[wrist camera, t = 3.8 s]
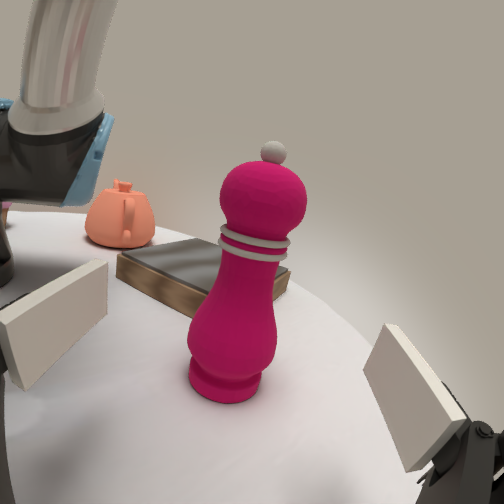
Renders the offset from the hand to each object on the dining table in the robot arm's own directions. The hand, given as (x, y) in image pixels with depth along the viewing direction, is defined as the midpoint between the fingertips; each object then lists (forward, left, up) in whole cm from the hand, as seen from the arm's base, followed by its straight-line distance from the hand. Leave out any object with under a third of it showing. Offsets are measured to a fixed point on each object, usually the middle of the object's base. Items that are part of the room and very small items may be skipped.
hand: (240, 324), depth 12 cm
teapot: (-42, +28, -11) cm, 52 cm away
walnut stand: (-16, +25, -11) cm, 32 cm away
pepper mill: (-3, +8, -11) cm, 14 cm away
